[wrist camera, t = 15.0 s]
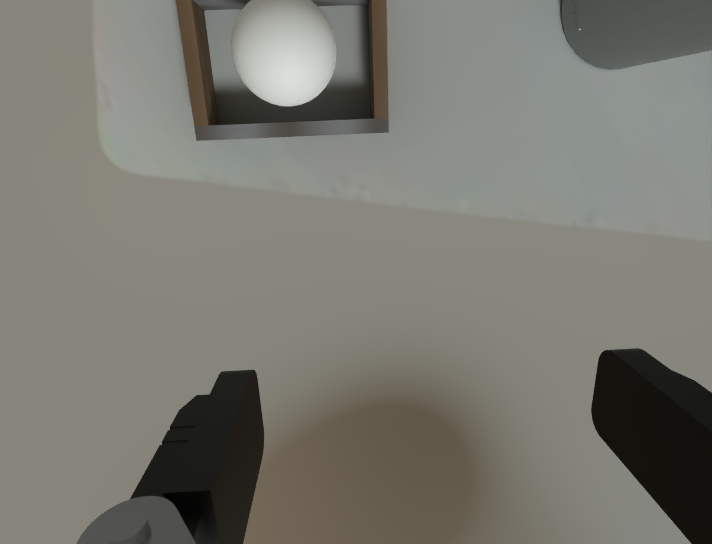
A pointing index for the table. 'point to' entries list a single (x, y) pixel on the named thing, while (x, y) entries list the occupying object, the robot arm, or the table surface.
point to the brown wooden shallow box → (207, 126)
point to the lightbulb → (284, 50)
